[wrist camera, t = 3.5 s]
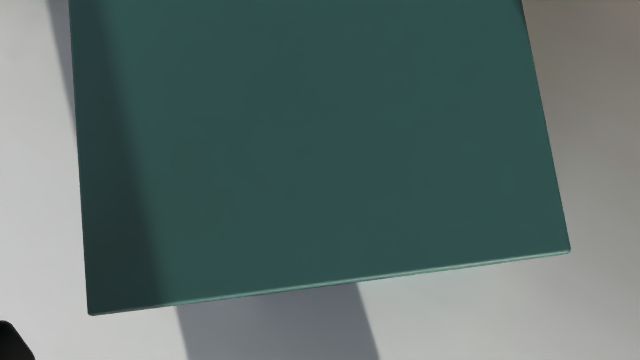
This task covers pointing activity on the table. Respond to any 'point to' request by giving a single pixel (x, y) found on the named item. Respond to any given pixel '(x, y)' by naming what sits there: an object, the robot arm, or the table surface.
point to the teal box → (304, 145)
